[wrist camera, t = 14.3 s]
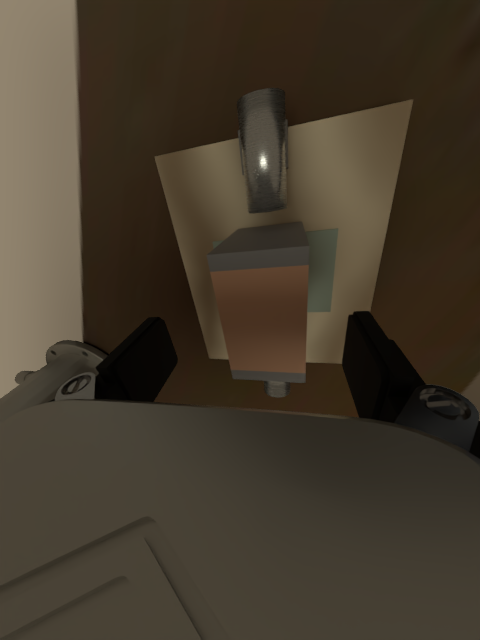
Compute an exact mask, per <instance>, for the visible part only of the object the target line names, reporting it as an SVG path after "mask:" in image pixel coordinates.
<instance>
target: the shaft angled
mask: <svg viewBox="0 0 480 640" xmlns="http://www.w3.org/2000/svg"><path fill="white" fill-rule="evenodd" d="M264 390H265V393H266V394H268V395H269V396H272V397H284V396H286V395H288V394H289V393H290V382H279V381H264Z"/></svg>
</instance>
